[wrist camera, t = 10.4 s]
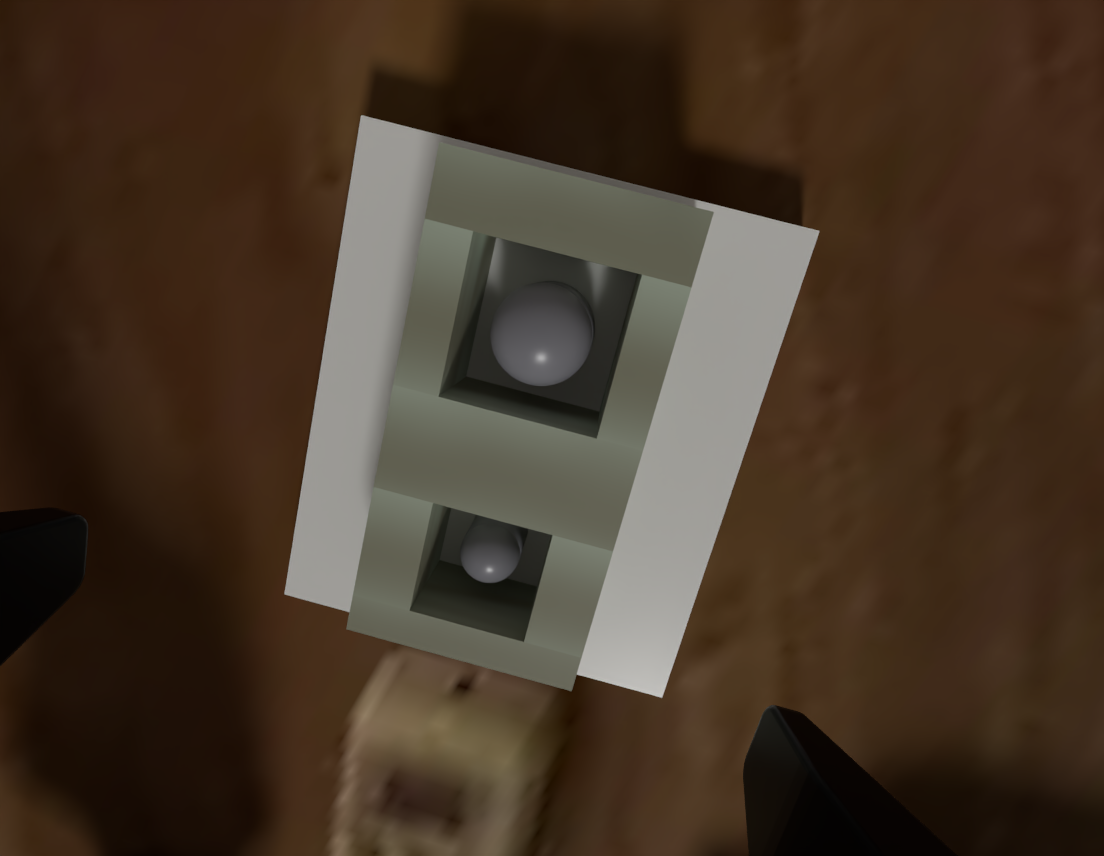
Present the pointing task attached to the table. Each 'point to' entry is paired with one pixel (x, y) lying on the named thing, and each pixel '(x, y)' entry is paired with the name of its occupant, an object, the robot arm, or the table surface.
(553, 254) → the post board
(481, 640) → the bar
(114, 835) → the table surface
